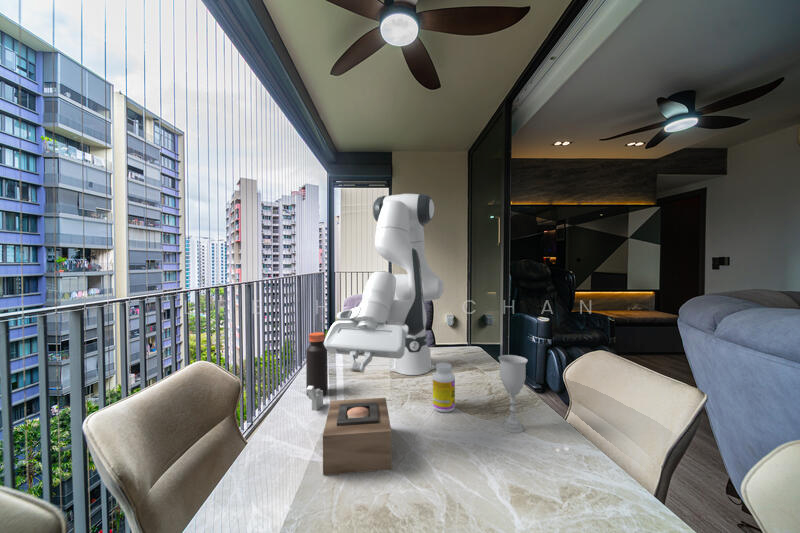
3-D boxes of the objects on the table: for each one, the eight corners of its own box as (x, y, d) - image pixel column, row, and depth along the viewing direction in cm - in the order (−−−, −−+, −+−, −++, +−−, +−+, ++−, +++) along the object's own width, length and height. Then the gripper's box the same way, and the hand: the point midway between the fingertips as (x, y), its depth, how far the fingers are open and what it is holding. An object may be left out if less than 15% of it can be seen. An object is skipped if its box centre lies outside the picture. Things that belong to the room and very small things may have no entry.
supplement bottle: (454, 414, 86) (454, 369, 86) (431, 412, 88) (431, 368, 88) (455, 403, 93) (455, 362, 93) (433, 402, 94) (433, 360, 94)
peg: (347, 440, 73) (347, 407, 72) (368, 439, 73) (368, 406, 73) (346, 453, 68) (346, 418, 68) (369, 452, 68) (369, 416, 68)
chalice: (497, 431, 77) (497, 361, 77) (498, 418, 84) (498, 353, 84) (528, 437, 75) (528, 364, 75) (527, 423, 81) (527, 356, 81)
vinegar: (326, 388, 105) (326, 330, 105) (328, 396, 98) (328, 335, 98) (306, 391, 103) (305, 332, 102) (306, 399, 96) (306, 336, 96)
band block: (331, 432, 77) (330, 398, 77) (385, 428, 79) (385, 395, 79) (322, 475, 62) (322, 432, 62) (391, 469, 63) (391, 428, 63)
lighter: (318, 403, 93) (317, 377, 93) (323, 404, 93) (323, 378, 93) (306, 415, 86) (306, 387, 86) (311, 415, 86) (311, 387, 86)
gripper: (411, 329, 79) (402, 381, 69) (340, 325, 84) (322, 373, 75) (407, 315, 74) (397, 369, 65) (332, 312, 80) (312, 361, 70)
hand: (356, 371), depth 70 cm, fingers closed
